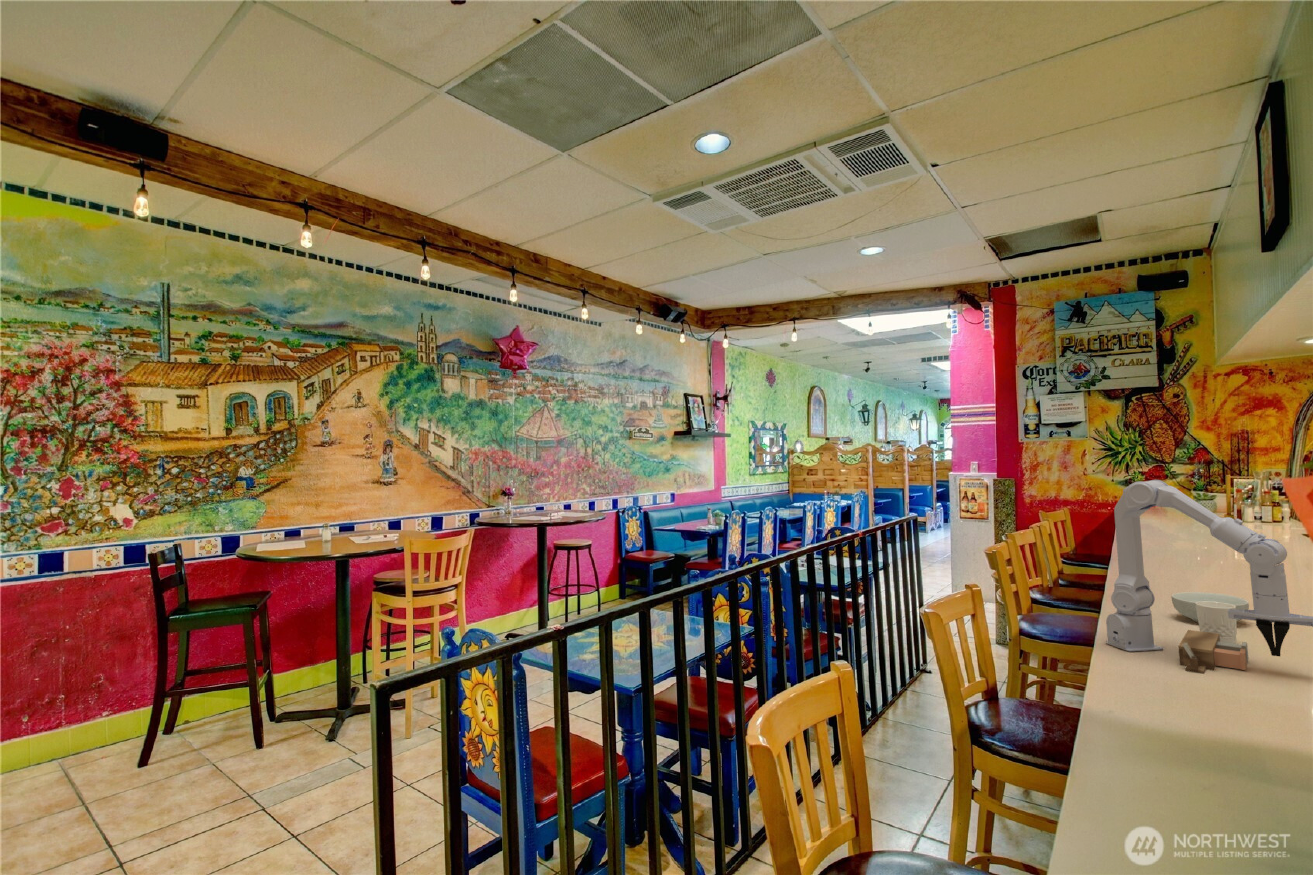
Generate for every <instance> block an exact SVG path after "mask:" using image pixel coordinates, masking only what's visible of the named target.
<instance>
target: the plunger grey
mask: <svg viewBox="0 0 1313 875" xmlns="http://www.w3.org/2000/svg"><path fill="white" fill-rule="evenodd" d="M1217 648H1218V649H1225V650H1233V651H1240V649H1245V650H1246V660H1247V664H1248V662H1249V648H1248V641H1242V643H1236V644H1234V643H1226V642H1218V641H1217Z"/></svg>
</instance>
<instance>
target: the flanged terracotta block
mask: <svg viewBox="0 0 1313 875" xmlns="http://www.w3.org/2000/svg"><path fill="white" fill-rule="evenodd" d="M1214 659H1215V667H1224V668H1231V669H1236V670H1237V669H1238V670H1242V671H1247V666H1248V663H1247V660H1246V650H1245V649H1240V651H1233V650H1225V649H1218V648H1214Z"/></svg>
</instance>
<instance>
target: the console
mask: <svg viewBox="0 0 1313 875" xmlns="http://www.w3.org/2000/svg"><path fill="white" fill-rule="evenodd" d="M1217 641H1218V642H1220V634H1218V633H1210V632H1202V631H1200V630H1193V629H1192V630H1191V629H1188V630H1187V631H1186V632H1185V634H1184V636H1183V638H1182V640H1181V641H1180V643H1179V645H1178V657H1179V665H1180V666H1183V667H1185V671H1186V672H1189V673H1190V672H1192V673H1196V674H1197V673H1199V674H1205V672H1206V670H1209V671H1215V668H1216V665H1215V659H1214V648H1217ZM1183 643H1188V645H1189V647H1190V648H1191V650H1192V651H1193V653H1194V654H1195V656H1196V657H1197V658H1198V659H1199V660H1198V662H1197V659H1194V658H1190V656H1189V655H1188V653H1187V652H1186V650H1185V648H1184V647H1183V645H1182V644H1183Z"/></svg>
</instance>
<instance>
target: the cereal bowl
mask: <svg viewBox="0 0 1313 875" xmlns="http://www.w3.org/2000/svg"><path fill="white" fill-rule="evenodd" d="M1171 601H1172V602H1171V603H1172V606H1173V608H1174V609H1175V610H1176V611H1177V612H1178V614H1181V615H1182V616H1184V617H1185V618H1188V619H1192V621H1194V622H1196V621H1197V622H1196V623H1199V622H1198V617H1197V610H1196V602H1203V601H1209V602H1221V603H1228V604H1232V605H1235V606H1236V609H1239V610H1250V603H1249V601H1248V600H1247V599H1244V598H1243V597H1240V596H1235V595H1232V594H1231V595H1230V594H1224V593H1218V592H1217V593H1216V592H1207V591H1206V592H1203V591H1186V592H1185V591H1183V592H1176V593H1172V594H1171ZM1239 621H1242V619H1236V622H1239Z"/></svg>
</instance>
